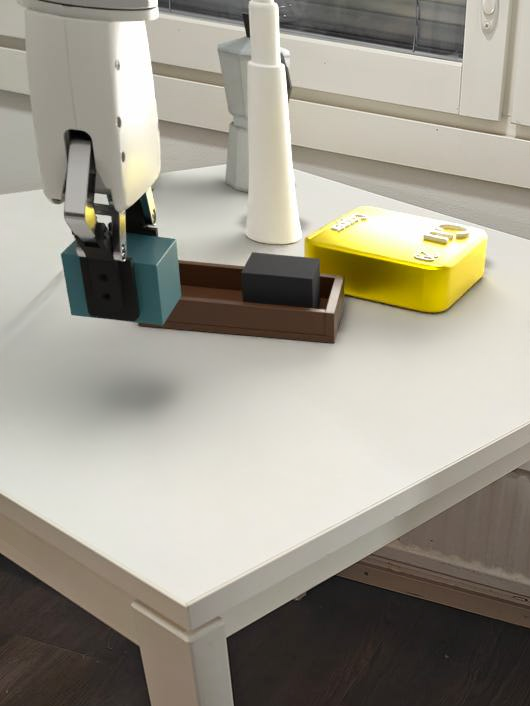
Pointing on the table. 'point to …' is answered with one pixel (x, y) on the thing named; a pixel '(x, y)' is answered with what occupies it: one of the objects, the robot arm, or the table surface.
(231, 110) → the coffee maker
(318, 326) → the tray
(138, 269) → the teal block
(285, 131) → the cosmetic bottle
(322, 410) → the table surface
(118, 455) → the table surface
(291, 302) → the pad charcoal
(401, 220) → the element tile
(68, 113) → the robot arm
